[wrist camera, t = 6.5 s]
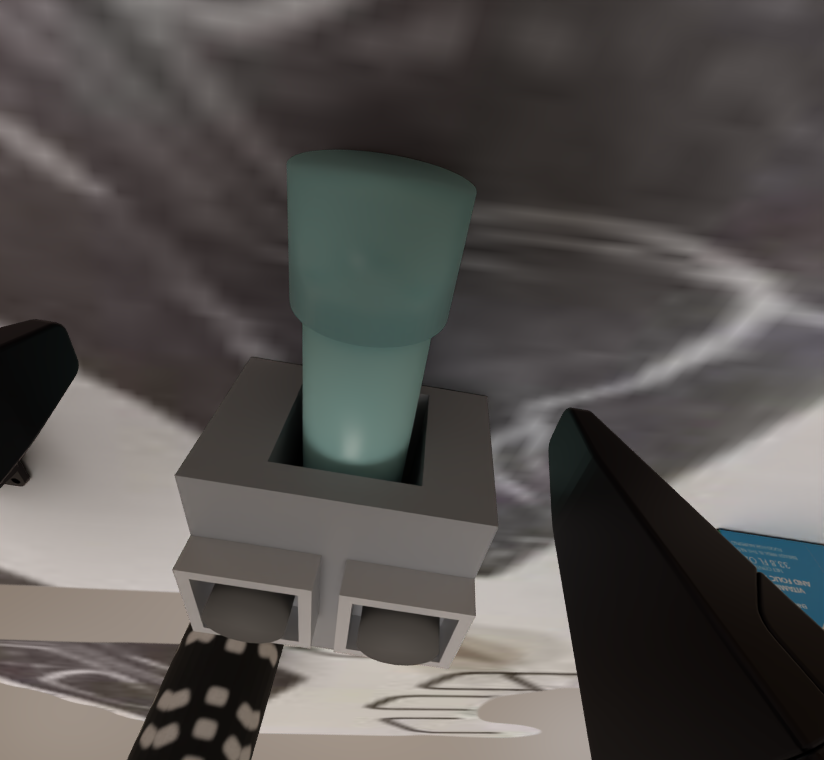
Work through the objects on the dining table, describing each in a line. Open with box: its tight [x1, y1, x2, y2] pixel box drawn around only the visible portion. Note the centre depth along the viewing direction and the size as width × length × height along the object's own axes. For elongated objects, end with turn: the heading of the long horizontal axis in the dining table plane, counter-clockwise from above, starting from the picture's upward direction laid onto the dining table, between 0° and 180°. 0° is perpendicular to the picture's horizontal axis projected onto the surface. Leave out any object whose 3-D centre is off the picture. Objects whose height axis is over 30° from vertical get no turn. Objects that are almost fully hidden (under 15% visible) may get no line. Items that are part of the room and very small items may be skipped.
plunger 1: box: [201, 583, 295, 643], centre depth 18 cm, size 3×3×2 cm
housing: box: [172, 357, 499, 669], centre depth 21 cm, size 11×12×8 cm
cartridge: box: [287, 150, 477, 483], centre depth 18 cm, size 20×5×5 cm, turn 171°
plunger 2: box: [357, 606, 440, 665], centre depth 18 cm, size 3×3×2 cm
